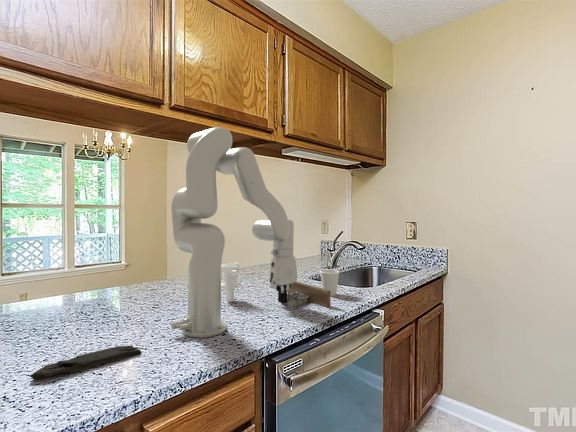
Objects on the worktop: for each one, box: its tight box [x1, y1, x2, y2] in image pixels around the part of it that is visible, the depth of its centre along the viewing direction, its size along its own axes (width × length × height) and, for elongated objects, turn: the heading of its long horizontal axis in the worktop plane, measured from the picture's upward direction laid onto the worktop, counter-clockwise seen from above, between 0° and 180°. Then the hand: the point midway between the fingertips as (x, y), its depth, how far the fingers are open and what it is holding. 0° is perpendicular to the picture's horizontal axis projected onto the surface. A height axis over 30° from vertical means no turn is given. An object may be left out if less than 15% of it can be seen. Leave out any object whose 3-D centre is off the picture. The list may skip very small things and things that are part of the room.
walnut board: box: [287, 281, 332, 308], centre depth 129 cm, size 2×22×6 cm, turn 41°
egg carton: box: [280, 291, 308, 308], centre depth 126 cm, size 11×8×4 cm
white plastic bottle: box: [221, 262, 240, 303], centre depth 128 cm, size 7×7×15 cm
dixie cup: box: [319, 268, 340, 297], centre depth 139 cm, size 8×8×10 cm
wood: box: [29, 345, 142, 381], centre depth 76 cm, size 22×7×3 cm, turn 134°
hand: (282, 302), depth 121 cm, fingers closed
